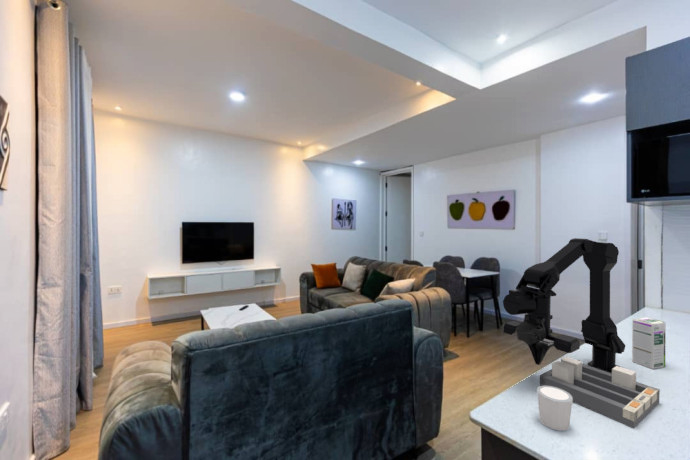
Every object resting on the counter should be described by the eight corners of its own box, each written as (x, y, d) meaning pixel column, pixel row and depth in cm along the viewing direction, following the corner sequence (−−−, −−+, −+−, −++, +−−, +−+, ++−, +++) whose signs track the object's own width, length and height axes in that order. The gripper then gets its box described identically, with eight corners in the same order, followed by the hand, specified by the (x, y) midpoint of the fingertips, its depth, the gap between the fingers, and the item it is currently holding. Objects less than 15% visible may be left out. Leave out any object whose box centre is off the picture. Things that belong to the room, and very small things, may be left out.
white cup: (557, 412, 75) (558, 384, 75) (580, 432, 68) (580, 401, 68) (530, 413, 75) (530, 385, 75) (549, 433, 68) (550, 402, 68)
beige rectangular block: (565, 374, 90) (566, 356, 90) (581, 380, 87) (582, 361, 87) (560, 377, 89) (560, 359, 88) (576, 383, 85) (577, 364, 85)
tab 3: (616, 385, 84) (616, 365, 84) (635, 391, 81) (636, 371, 81) (611, 388, 83) (611, 368, 83) (631, 395, 79) (631, 375, 79)
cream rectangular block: (557, 379, 88) (557, 360, 87) (573, 385, 84) (574, 366, 84) (551, 382, 86) (552, 363, 86) (568, 388, 83) (568, 369, 82)
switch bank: (569, 370, 96) (569, 358, 96) (659, 402, 79) (659, 388, 79) (539, 387, 86) (539, 374, 86) (633, 428, 69) (634, 411, 69)
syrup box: (653, 369, 96) (654, 323, 96) (631, 361, 102) (632, 317, 101) (665, 367, 98) (666, 322, 97) (643, 359, 103) (644, 316, 103)
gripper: (492, 308, 94) (491, 358, 94) (561, 325, 78) (560, 386, 78) (513, 302, 100) (512, 350, 100) (581, 318, 84) (580, 374, 84)
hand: (537, 364), depth 91 cm, fingers closed
